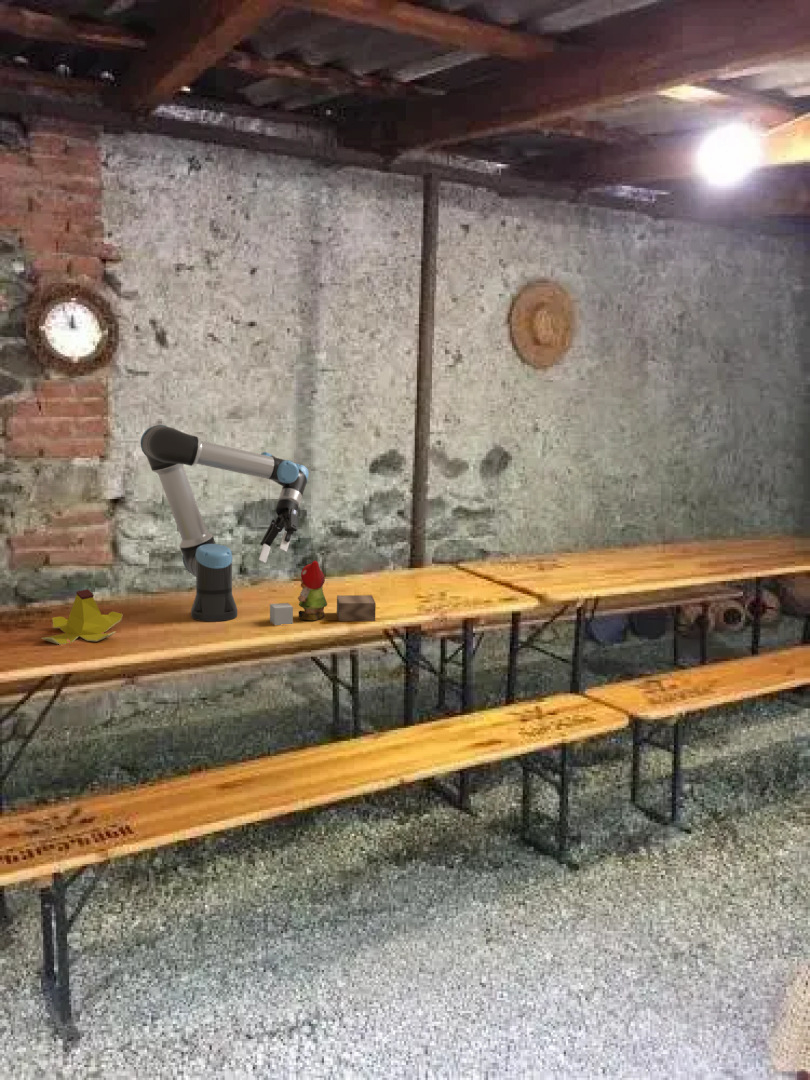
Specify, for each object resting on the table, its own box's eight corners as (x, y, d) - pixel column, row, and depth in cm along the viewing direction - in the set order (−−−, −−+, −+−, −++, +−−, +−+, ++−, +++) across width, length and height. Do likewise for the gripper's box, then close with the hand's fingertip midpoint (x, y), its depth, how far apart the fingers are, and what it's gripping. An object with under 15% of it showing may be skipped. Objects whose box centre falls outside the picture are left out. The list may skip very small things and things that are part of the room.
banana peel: (139, 645, 297) (140, 599, 293) (48, 657, 282) (48, 608, 278) (115, 617, 316) (116, 573, 312) (28, 626, 302) (28, 580, 298)
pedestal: (339, 621, 323) (339, 603, 322) (336, 612, 335) (336, 595, 334) (375, 620, 325) (375, 603, 324) (371, 612, 337) (371, 595, 336)
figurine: (308, 614, 332) (308, 556, 329) (331, 616, 329) (332, 558, 326) (294, 621, 322) (294, 561, 319) (317, 623, 319) (318, 563, 316)
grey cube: (274, 626, 315) (274, 608, 314) (269, 621, 320) (269, 604, 319) (292, 624, 317) (292, 606, 316) (287, 620, 323) (287, 602, 322)
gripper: (316, 497, 333) (301, 550, 322) (278, 520, 351) (262, 570, 340) (298, 487, 329) (282, 540, 319) (261, 510, 348) (244, 561, 337)
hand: (272, 556), depth 329 cm, fingers open, 13 cm apart
